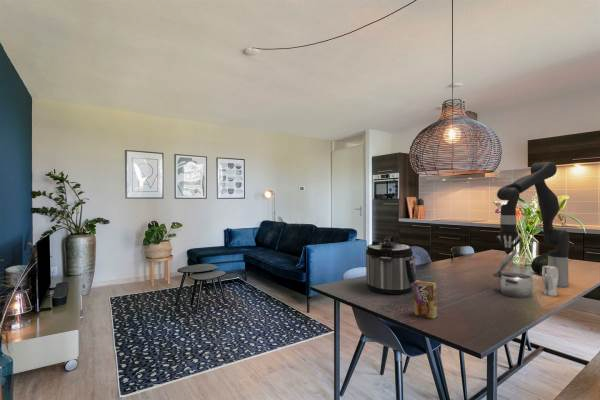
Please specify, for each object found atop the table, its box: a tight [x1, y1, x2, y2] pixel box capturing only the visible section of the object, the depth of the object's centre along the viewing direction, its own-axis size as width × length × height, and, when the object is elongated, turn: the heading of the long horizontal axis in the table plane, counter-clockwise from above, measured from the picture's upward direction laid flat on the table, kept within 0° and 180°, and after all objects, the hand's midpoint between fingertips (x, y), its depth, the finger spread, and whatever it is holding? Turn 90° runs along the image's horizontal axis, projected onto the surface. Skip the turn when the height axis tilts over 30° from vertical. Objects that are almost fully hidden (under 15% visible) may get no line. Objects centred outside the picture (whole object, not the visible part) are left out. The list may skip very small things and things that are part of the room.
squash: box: [530, 253, 548, 276], centre depth 209 cm, size 14×15×15 cm
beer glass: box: [541, 266, 559, 297], centre depth 167 cm, size 7×7×15 cm
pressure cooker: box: [365, 235, 417, 295], centre depth 183 cm, size 30×28×32 cm
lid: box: [496, 249, 517, 274], centre depth 172 cm, size 15×16×2 cm
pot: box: [493, 271, 533, 299], centre depth 170 cm, size 19×17×10 cm
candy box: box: [413, 279, 438, 319], centre depth 140 cm, size 9×4×15 cm, turn 47°
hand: (508, 254), depth 171 cm, fingers closed
